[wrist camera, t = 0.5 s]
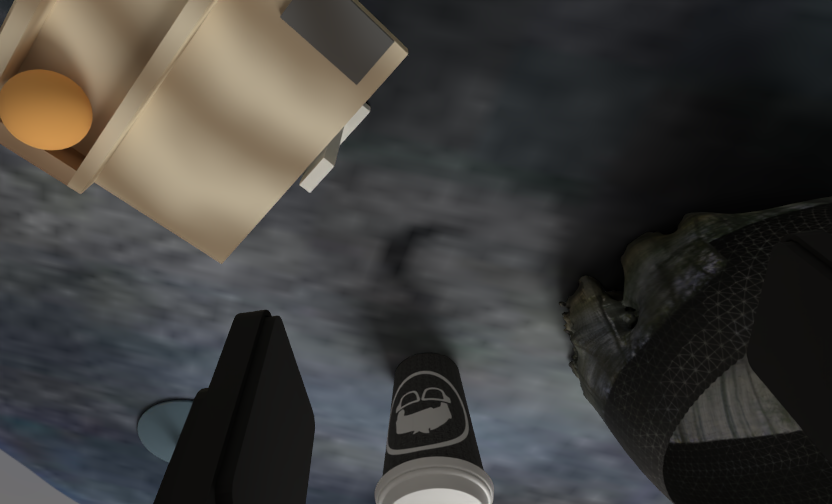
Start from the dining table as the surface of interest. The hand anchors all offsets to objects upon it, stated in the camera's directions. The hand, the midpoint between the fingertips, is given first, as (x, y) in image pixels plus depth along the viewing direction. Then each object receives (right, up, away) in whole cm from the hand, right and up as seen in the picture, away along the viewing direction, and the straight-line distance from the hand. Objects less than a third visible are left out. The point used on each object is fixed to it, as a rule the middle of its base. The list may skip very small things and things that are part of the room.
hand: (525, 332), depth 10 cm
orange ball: (-21, +9, +17) cm, 29 cm away
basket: (+28, -1, +39) cm, 48 cm away
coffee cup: (-1, -11, +44) cm, 45 cm away
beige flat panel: (-15, +12, +19) cm, 27 cm away
